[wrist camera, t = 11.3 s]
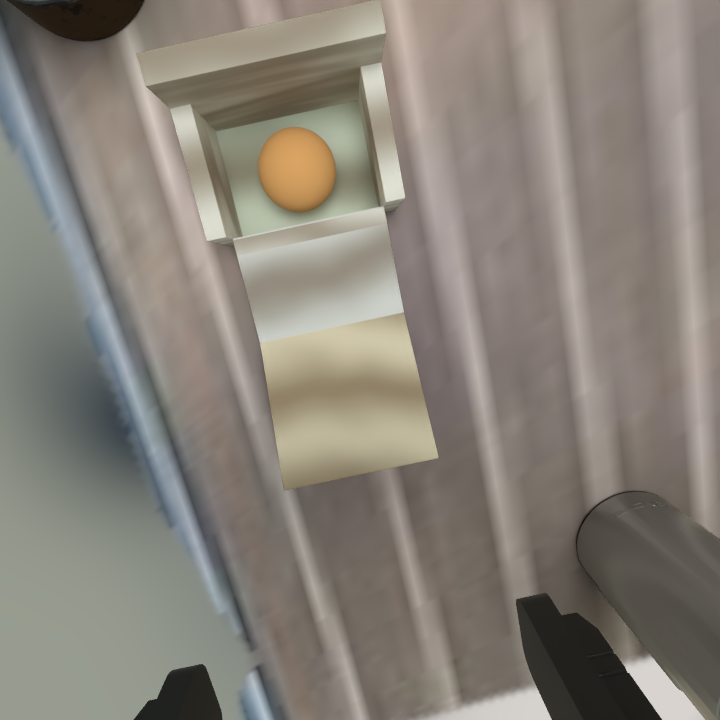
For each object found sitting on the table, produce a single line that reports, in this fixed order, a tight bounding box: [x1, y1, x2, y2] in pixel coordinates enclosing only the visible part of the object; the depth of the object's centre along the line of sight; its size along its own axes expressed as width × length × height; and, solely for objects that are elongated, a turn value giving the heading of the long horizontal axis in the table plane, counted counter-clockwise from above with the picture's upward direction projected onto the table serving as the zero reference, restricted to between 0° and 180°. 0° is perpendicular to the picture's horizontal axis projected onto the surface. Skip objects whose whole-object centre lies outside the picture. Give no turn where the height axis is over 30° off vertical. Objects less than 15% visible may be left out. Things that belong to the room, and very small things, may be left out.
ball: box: [258, 127, 336, 212], centre depth 27 cm, size 5×5×5 cm
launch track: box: [137, 0, 439, 491], centre depth 27 cm, size 26×12×8 cm, turn 12°
